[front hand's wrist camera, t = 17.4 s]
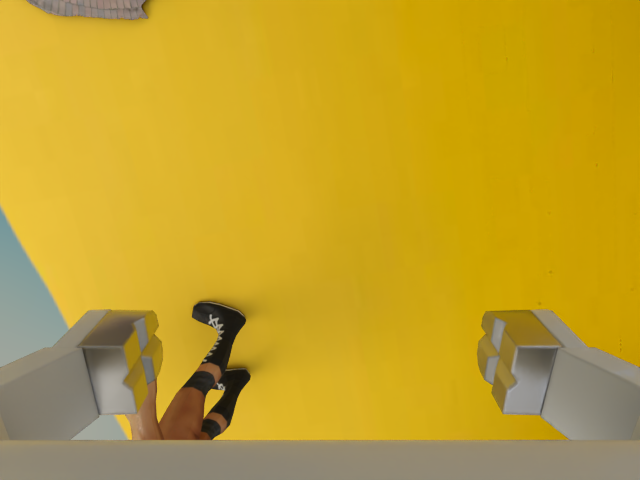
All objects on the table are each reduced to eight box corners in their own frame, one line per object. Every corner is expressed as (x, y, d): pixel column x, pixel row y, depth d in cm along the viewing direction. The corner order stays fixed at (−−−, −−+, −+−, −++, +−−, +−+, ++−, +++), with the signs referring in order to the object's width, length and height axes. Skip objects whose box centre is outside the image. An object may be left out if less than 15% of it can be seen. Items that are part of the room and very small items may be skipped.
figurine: (180, 248, 43) (-69, 559, 16) (241, 247, 43) (99, 559, 16) (205, 426, 52) (75, 825, 25) (255, 426, 52) (182, 825, 25)
